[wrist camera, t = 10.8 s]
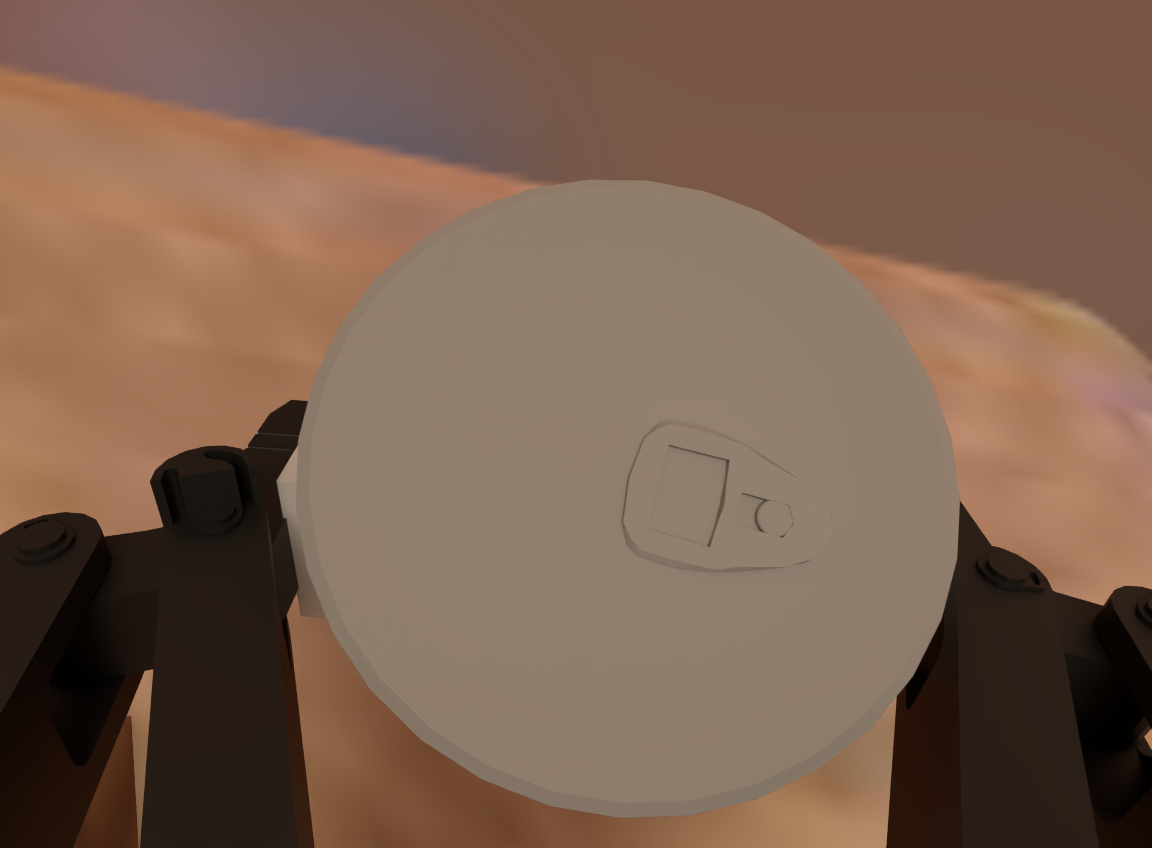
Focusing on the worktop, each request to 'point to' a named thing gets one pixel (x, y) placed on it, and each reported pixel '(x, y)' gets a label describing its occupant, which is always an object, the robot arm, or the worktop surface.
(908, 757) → the robot arm
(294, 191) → the worktop surface
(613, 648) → the canned food
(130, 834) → the walnut block
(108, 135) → the worktop surface
